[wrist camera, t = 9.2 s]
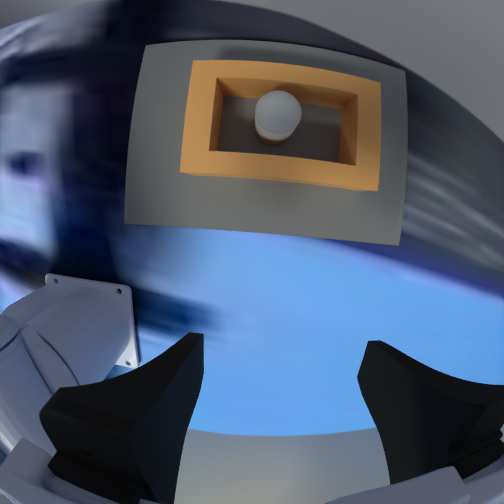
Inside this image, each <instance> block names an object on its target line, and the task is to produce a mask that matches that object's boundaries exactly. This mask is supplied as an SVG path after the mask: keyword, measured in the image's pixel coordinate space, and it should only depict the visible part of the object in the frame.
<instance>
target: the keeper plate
mask: <svg viewBox="0 0 504 504" xmlns="http://www.w3.org/2000/svg"><path fill="white" fill-rule="evenodd" d="M194 60H243V61H261V62H273V63H283V64H291V65H299V66H306V67H312V68H318V69H324V70H329V71H335V72H339V73H344V74H349V75H353V76H357V77H361V78H365V79H369V80H373V81H376V82H380V86H381V151H380V170H379V184H378V191H358V190H350V189H343V188H336V187H329V186H321V185H312V184H304V183H295V182H285V181H274V180H263V179H250V178H236V177H219V176H196V175H190V174H186V173H181V172H180V163H181V151H182V141H183V131H184V122H185V113H186V106H187V98H188V91H189V84H190V77H191V71H192V65H193V61H194ZM340 117H341V109H336V108H331V107H325V106H319V105H313V104H306V103H299V102H298V100H297V99H296V98H295V97H294V96H293V95H291V94H290V93H288V92H285V91H279V90H276V91H271V92H268V93H266V94H264V95H263V96H262V97H261V98H260V99H259V98H244V97H223V105H222V114H221V124H220V134H219V145H218V151H222V152H240V153H255V154H267V155H278V156H288V157H297V158H305V159H313V160H320V161H328V162H334V163H338V159H339V142H340ZM407 155H408V110H407V90H406V77H405V71H404V70H401V69H398V68H395V67H392V66H389V65H386V64H382V63H379V62H376V61H372V60H369V59H365V58H361V57H357V56H353V55H349V54H345V53H341V52H336V51H331V50H326V49H321V48H315V47H309V46H302V45H295V44H287V43H278V42H266V41H251V40H196V41H181V42H170V43H161V44H153V45H146V47H145V51H144V55H143V60H142V64H141V69H140V74H139V79H138V84H137V89H136V95H135V101H134V107H133V114H132V121H131V129H130V137H129V146H128V156H127V169H126V184H125V209H124V224H137V225H155V226H171V227H187V228H202V229H216V230H230V231H243V232H256V233H269V234H281V235H293V236H304V237H315V238H326V239H337V240H348V241H358V242H368V243H378V244H387V245H397V246H399V241H400V234H401V227H402V219H403V210H404V201H405V190H406V176H407Z"/></svg>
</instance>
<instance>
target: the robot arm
mask: <svg viewBox="0 0 504 504" xmlns="http://www.w3.org/2000/svg"><path fill="white" fill-rule="evenodd" d="M56 279H57V280H58V282H57V280H56ZM45 280H46V285H45V286H43V287H42V288H40V289H38V290H36V291H34V292H32V293H31V294H29V295H27V296H25V297H23V298H22V299H20V300H18V301H16V302H15V303H13V304H11V305H10V306H8V307H7V308H6V309H5V310H4V312H3V313H2V314H0V493H1V494H4V495H5V496H6V497H7V498H9V499H10V500H11V501H12V502H13V503H14V504H174V499H175V491H176V484H177V478H178V471H179V466H180V460H181V454H182V449H183V444H184V439H185V435H186V432H187V428H188V425H189V423H190V420H191V417H192V414H193V411H194V408H195V405H196V402H197V399H198V396H199V393H200V389H201V384H202V379H203V374H204V334H199V333H191V332H189V333H188V334H187V335H185V336H184V337H183V338H181V339H180V340H179V341H178V342H176V343H175V344H174V345H173V346H171V347H170V348H169V349H167V350H166V351H165V352H163V353H162V354H160V355H159V356H157V357H156V358H154V359H153V360H151V361H150V362H148V363H146V364H144V365H142V366H141V367H138V366H139V358H138V350H137V343H136V335H135V326H134V316H133V304H132V291H131V289H130V287H129V286H127V285H122V284H115V283H108V282H101V281H94V280H87V279H81V278H75V277H69V276H63V275H57V274H51V273H49V274H47V275H46V276H45ZM118 288H119V289H121V291H122V293H120V292H119V290H118ZM128 361H129V362H130V363H129V362H128ZM115 364H117V365H121V366H126V367H130V368H136V369H134V370H132V371H130V372H128V373H125V374H122V375H120V376H117V377H114V378H111V379H108V380H104V379H105V377H106V376H107V374H108V373H109V372H110V370H111V369H112V368H113V366H114V365H115ZM137 367H138V368H137ZM357 379H358V383H359V386H360V390H361V393H362V396H363V398H364V400H365V403H366V405H367V407H368V409H369V412H370V414H371V416H372V418H373V420H374V423H375V425H376V427H377V429H378V432H379V434H380V437H381V441H382V444H383V448H384V452H385V456H386V461H387V465H388V471H389V478H390V484H391V485H388V486H385V487H381V488H376V489H372V490H368V491H363V492H359V493H356V494H352V495H348V496H344V497H340V498H338V499H335V500H333V501H330V502H328V503H325V504H501V503H502V502H503V501H504V442H502V441H501V440H500V438H501V437H502V436H503V433H502V432H501V431H500V429H501V427H502V426H503V424H504V385H490V384H482V383H476V382H471V381H466V380H463V379H459V378H456V377H452V376H449V375H447V374H444V373H442V372H439V371H437V370H434V369H432V368H430V367H428V366H426V365H424V364H422V363H420V362H418V361H417V360H415V359H413V358H411V357H409V356H408V355H406V354H404V353H403V352H401V351H399V350H397V349H396V348H394V347H392V346H390V345H388V344H387V343H385V342H382V341H380V340H379V341H368V343H367V347H366V350H365V353H364V357H363V360H362V363H361V366H360V369H359V373H358V376H357ZM103 380H104V381H103Z"/></svg>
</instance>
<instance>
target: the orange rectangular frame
mask: <svg viewBox="0 0 504 504" xmlns="http://www.w3.org/2000/svg"><path fill="white" fill-rule="evenodd" d="M276 90H279V91H285V92H288V93H290V94H291V95H293V96H294V97H295V98H296V99H297V100H298V102H299V103H306V104H313V105H319V106H325V107H331V108H336V109H341V117H340V142H339V159H338V163H334V162H328V161H320V160H313V159H305V158H297V157H288V156H278V155H267V154H255V153H240V152H222V151H218V145H219V134H220V124H221V114H222V105H223V97H244V98H259V99H260V98H261V97H262V96H263V95H264V94H266V93H268V92H271V91H276ZM380 151H381V86H380V82H376V81H373V80H369V79H365V78H361V77H357V76H353V75H349V74H344V73H339V72H335V71H329V70H324V69H318V68H312V67H306V66H299V65H291V64H283V63H273V62H261V61H243V60H194V61H193V65H192V71H191V77H190V84H189V91H188V98H187V106H186V113H185V122H184V131H183V141H182V151H181V163H180V172H181V173H186V174H190V175H196V176H219V177H236V178H250V179H263V180H274V181H285V182H295V183H304V184H312V185H321V186H329V187H336V188H343V189H350V190H358V191H378V184H379V170H380Z"/></svg>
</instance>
